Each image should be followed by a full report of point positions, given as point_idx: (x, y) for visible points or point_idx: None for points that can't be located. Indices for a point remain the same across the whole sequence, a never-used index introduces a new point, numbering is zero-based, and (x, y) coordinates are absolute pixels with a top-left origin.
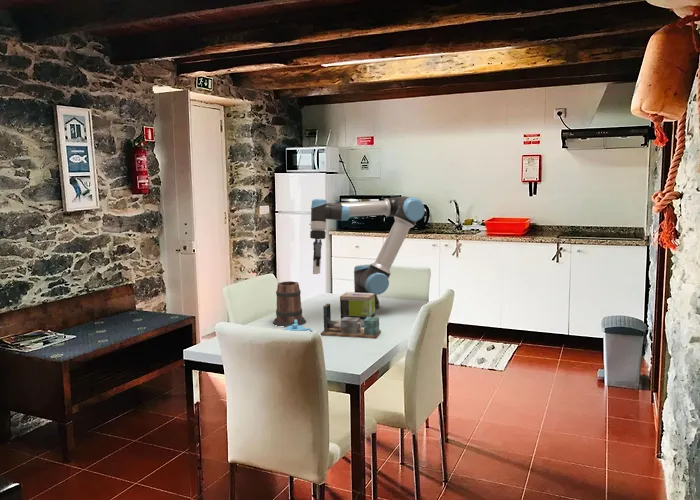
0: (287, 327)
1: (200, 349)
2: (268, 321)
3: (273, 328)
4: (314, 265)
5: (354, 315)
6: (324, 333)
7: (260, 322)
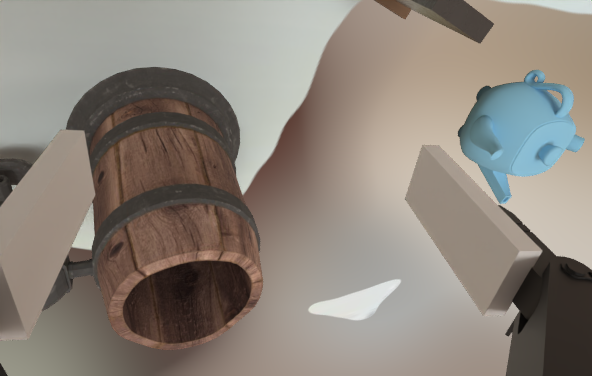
0: (522, 172)
1: (366, 305)
2: None
3: None
4: (53, 258)
5: None
6: None
7: None
